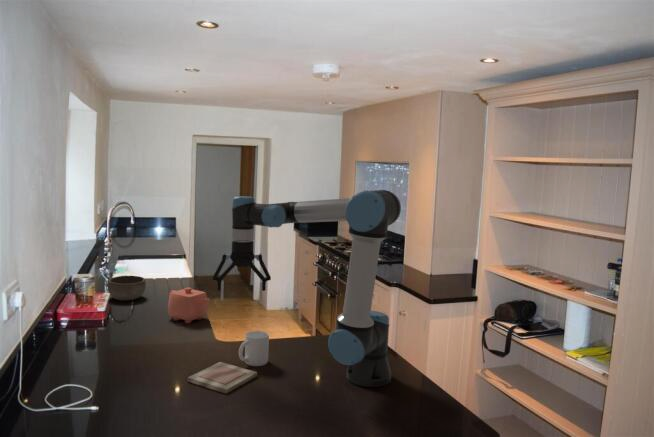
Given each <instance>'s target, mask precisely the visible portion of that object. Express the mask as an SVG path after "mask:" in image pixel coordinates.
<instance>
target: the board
mask: <svg viewBox="0 0 654 437" xmlns="http://www.w3.org/2000/svg"><path fill="white" fill-rule="evenodd" d="M257 377H258V372H257V371H254V370H251V369H247V368H243V367H240V366H236V365H233V364H230V363H226V362H222V361H218V362H217V363H214V364H213V365H211V366H208V367H206V368H205V369H202V370H200V371H197V373H193V374H192V375H190V376H187V383H192V384H195V385H196V386H200V387H204V388H207V389H210V390H212V391H213V390H214V391H216V392H220V393H223V394H229V393H230V392H232V391H234V390H235V389H237V388H239V387H241V386H243V385H245V384H246V383H248V382H249V381H251V380H253V379H255V378H257Z"/></svg>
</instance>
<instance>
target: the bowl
mask: <svg viewBox="0 0 654 437" xmlns="http://www.w3.org/2000/svg"><path fill="white" fill-rule="evenodd" d="M146 284H147V283H146V278H144V277H142V276H138V275H120V276H115V277H111V278H109V279H108V282H107V288H108V293H109V294H110V296H111V297H112V298H113V299H115V300H118V301H123V302H125V301H127V302H128V301H133V300H137V299H139V298H140V297H142V295H143V294H144V292H145V291H146Z"/></svg>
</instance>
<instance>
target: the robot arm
mask: <svg viewBox="0 0 654 437" xmlns="http://www.w3.org/2000/svg"><path fill="white" fill-rule="evenodd" d="M231 210H232V211H231V212H232V216H231V218H232V228H231V240H232V241H231V253H230V254H229V253H226V252H223V254H222V258H221V261H220V263H219V264H218V266H217V268H216V270H215V271H214V274H213V276H212V280H213V281H216V282H217V291H220V301H224V291H225V290H224V285H225V284H224V280H223V279H224V278H225V277H226V276H227V275H228V274H229V273H230V272H231V271H232V270H233V269H234V268H235V267H237V268H240V267H241V268H247V267H250V269H251V270H252V271H253V272H254V273H255V275H256V276H257V277H258V278H259V279H260V280H259V301H261V302H262V301H263V291H264V292H265V291H266V286H267V284H266V282H268V281H271V279H272V278H271V274H270V272H269V271H268V269H267V267H266V264H265V262H264V260H263V254H262V253H259V254H254V241H253V240H254V238H255V237H254V234H255V233H254V231H255V226H261V227H268V228H281V227H282V225H285V224H299V223H321V222H322V223H323V222H325V223H326V222H327V223H328V222H329V223H330V222H347V223H348V234H349V235H350V236H351V239H352V241H351V250H350V256H349V262H348V263H349V265H348V271H347V276H346V279H347V280H346V285H345V286H346V287H345V292H344V293H345V294H344V299H343V300H344V301H343V308H342V312H341V313H340V314H338V315H337V318H336V325H335V330H333V331H332V332H331V333H330V335H329V336H328V340H327V346H328V350H329V353H330V354H331V356H333V358H334V360H335V361H336V362H338V363H340V364H342V365H343V366H345V365H346V366H347V368H346V375H345V376H346V379H347V381H348V382H350V383H352V384H354V385H356V386H360V387H365V388H379V387H384V386H386V385H389V383H391V381H392V371H391V368H390V365H389V360H388V346H389V345H388V344H389V329H390V318H389V315H387V314H386V313H384V312H380V311H377V310H372V305H373V298H374V289H375V283H376V277H377V270H378V262H379V255H380V250H381V243H382V242H383V241H384V240H386V239H387V236H388V229H389V226H390V225H392V224H394V223H395V222H396V221H397V220H398V219H399V217H400V216H401V211H402V206H401V201H400V199H399V198H398V196H397V194H395V193H394V192H392V191H390V190H387V189H378V190H377V189H376V190H363V191H361V192H357V193H356V194H354V195H352V197H349V198H333V199H320V200H319V199H318V200H305V201H303V200H302V201H287V202H279V203H278V202H277V203H258V202H257V203H256V202H255V197H253V196H250V195H249V196H248V195H247V196H246V195H245V196H244V195H241V196H238V195H237V196H235V197H233V200H232V208H231ZM229 259H230V260H231V261H232V262H231V263H230V264H229V265H228V266H227V268H226V269H225V270H224V271H223V272H222V273H221V274H220V272H221V270H222V269H223V267H224V264H225V263H226V261H228V260H229ZM254 259H255V260H256V261H258V262H259V263H258V264H259V265H260V267H261V269H262V271H263V273H264V275H265V276H264V275H263V273H262V272H261V271H260V270H259V269H258V268H257V266H256V265H255V263H253V261H254ZM219 274H220V275H219Z"/></svg>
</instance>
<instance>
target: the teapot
mask: <svg viewBox="0 0 654 437" xmlns="http://www.w3.org/2000/svg"><path fill="white" fill-rule="evenodd" d="M168 298H169V299H168V305H167V313H168V316H169V317H172V318H173V321H180V320H183V321H184V323H185V324H191V323H192V321H194V320H202V319H203V317H205V316H207V315H208V311H209V308H208V304H209V301H210V298H208V296H207V293H206V291H201V290H197V289H193V288H192V287H185V288H183V289H180V290H170V291H169V297H168Z"/></svg>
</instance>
